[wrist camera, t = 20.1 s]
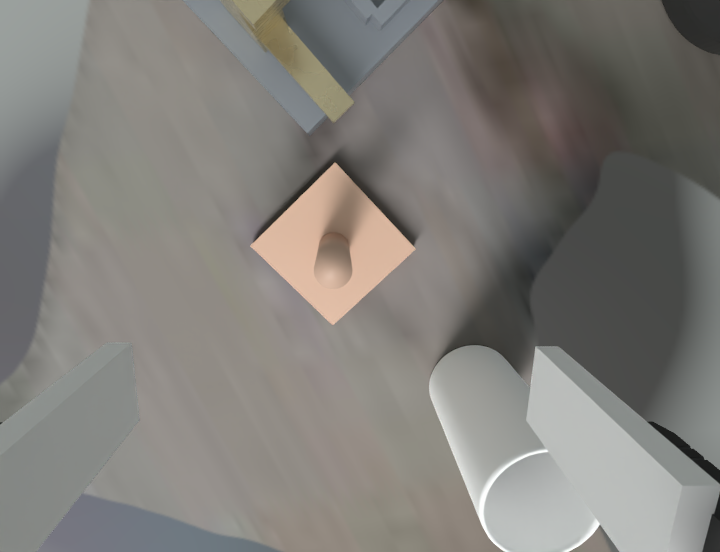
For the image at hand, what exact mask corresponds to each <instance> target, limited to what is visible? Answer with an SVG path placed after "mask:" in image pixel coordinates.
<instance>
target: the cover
mask: <svg viewBox="0 0 720 552" xmlns="http://www.w3.org/2000/svg"><path fill="white" fill-rule="evenodd" d="M251 247H252V248H253V249H254V250H255V251H256V252H257V253H258V254H259V255H260V256H261V257H262V258H263V259H265V260H266V261H267V262H268V263H269V264H270V265H271V266H272V267H273V268H274V269H275V270H276V271H277V272H278V273H279V274H280V275H281V276H282V277H283V278H284V279H285V280H286V281H287V282H288V283H289V284H290V285H291V286H293V287H294V288H295V289H296V290H297V291H298V292H299V293H300V294H301V295H302V296H303V297H304V298H305V299H306V300H307V301H308V302H309V303H310V304H311V305H312V306H313V307H314V308H315V309H316V310H317V311H318V312H319V313H321V314H322V315H323V316H324V317H325V318H326V319H327V320H328V321H329V322H330V323H331V324H332V325H334V324H335V323H336V322H337V321H338V320H339V319H340V318H341V317H342V316H343V315H345V314H346V313H347V312H348V311H349V310H350V309H351V308H352V307H353V306H354V305H355V304H357V303H358V302H359V301H360V300H361V299H362V298H363V297H364V296H365V295H366V294H367V293H369V292H370V291H371V290H372V289H373V288H374V287H375V286H376V285H377V284H378V283H379V282H380V281H382V280H383V279H384V278H385V277H386V276H387V275H388V274H389V273H390V272H391V271H392V270H394V269H395V268H396V267H397V266H398V265H399V264H400V263H401V262H402V261H403V260H404V259H406V258H407V257H408V256H409V255H410V254H411V253H412V252H413V251H414V250H415V248H414V246H413V245H412V244H411V243H410V242H409V241H408V240H407V239H406V238H405V237H404V236H403V235H402V234H401V232H400V231H399V230H398V229H397V228H396V227H395V226H394V225H393V224H392V223H391V222H390V221H389V220H388V218H387V217H386V216H385V215H384V214H383V213H382V212H381V211H380V210H379V209H378V208H377V207H376V206H375V204H374V203H373V202H372V201H371V200H370V199H369V198H368V197H367V196H366V195H365V194H364V193H363V192H362V190H361V189H360V188H359V187H358V186H357V185H356V184H355V183H354V182H353V181H352V180H351V179H350V178H349V177H348V175H347V174H346V173H345V172H344V171H343V170H342V169H341V168H340V167H339V166H338V165H337V164H336V163H334V164H333V165H332V166H331V167H330V168H329V169H328V170H327V171H326V172H325V173H324V174H323V175H322V176H321V177H320V178H319V179H318V180H317V181H316V182H315V183H314V184H313V185H312V186H311V187H310V188H309V189H308V190H306V191H305V192H304V193H303V194H302V195H301V196H300V197H299V198H298V199H297V200H296V201H295V202H294V203H293V204H292V205H291V206H290V207H289V208H288V209H287V210H286V211H285V212H284V213H283V214H282V215H281V216H280V217H279V218H278V219H277V220H276V221H275V222H274V223H273V224H272V225H271V226H270V227H269V228H268V229H267V230H266V231H265V232H264V233H263V234H262V235H261V236H260V237H259V238H258V239H257V240H256V241H255V242H254V243H253V244H252V245H251Z"/></svg>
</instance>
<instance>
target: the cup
mask: <svg viewBox="0 0 720 552" xmlns="http://www.w3.org/2000/svg"><path fill="white" fill-rule="evenodd" d="M429 392H430V397H431V400H432V402H433V405H434V407H435V410H436V412H437V415H438V417H439V420H440V422H441V425H442V427H443V430H444V432H445V435H446V437H447V440H448V442H449V445H450V447H451V449H452V452H453V454H454V457H455V459H456V462H457V464H458V467H459V469H460V472H461V474H462V477H463V479H464V482H465V484H466V487H467V489H468V492H469V494H470V497H471V499H472V502H473V504H474V507H475V509H476V511H477V514H478V516H479V519H480V521H481V524H482V526H483V528H484V530H485V532H486V533H487V535H488V537H489V538H490V539H491V541H492V542H493V543H494V544H495V545H496V546H498V547H499V548H500V549H502V550H503V551H505V552H568V551H571V550H572V549H574V548H576V547H578V546H579V545H581V544H582V543H583V542H585V541H586V540H587V539H588V538H589V537H590V536H591V535H592V534H593V533H594V532H595V531H596V529H597V528H598V527H599V525H600V523H599V522H598V520H597V519H596V518H595V516H594V515H593V513H592V512H591V511H590V509H589V508H588V506H587V505H586V504H585V502H584V501H583V499H582V498H581V497H580V495H579V494H578V492H577V491H576V490H575V488H574V487H573V485H572V484H571V483H570V481H569V480H568V478H567V477H566V476H565V474H564V473H563V471H562V470H561V469H560V467H559V466H558V464H557V463H556V462H555V460H554V459H553V457H552V456H551V455H550V453H549V452H548V450H547V449H546V448H545V446H544V445H543V443H542V442H541V441H540V439H539V438H538V436H537V435H536V434H535V432H534V431H533V429H532V428H531V427H530V425H529V424H528V422H527V421H526V417H527V409H528V401H529V394H530V387H529V386H528V385H527V383H526V382H525V381H524V380H523V379H522V378H521V376H520V375H519V374H518V373H517V372H516V371H515V370H514V368H513V367H512V366H511V365H510V364H509V363H508V361H507V360H506V359H505V358H504V357H503V356H502V355H501V354H500V353H498V352H497V351H495V350H493V349H491V348H489V347H485V346H480V345H469V346H464V347H460V348H457V349H455V350H453V351H451V352H450V353H448V354H447V355H445V356H444V357H443V358H442V359H441V360H440V361H439V362H438V363H437V365H436V366H435V368H434V370H433V372H432V374H431V377H430V382H429Z"/></svg>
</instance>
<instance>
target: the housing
mask: <svg viewBox="0 0 720 552" xmlns="http://www.w3.org/2000/svg"><path fill="white" fill-rule="evenodd" d="M183 1H184V2H185V3H186V4H187V5H188V6H189V8H190V9H191V10H192V11H193V12H194V13H195V14H196V15H197V16H198V17H199V18H200V19H201V20H202V21H203V23H204V24H205V25H206V26H207V27H208V28H209V29H210V30H211V31H212V32H213V33H214V34H215V35H216V36H217V37H218V39H219V40H220V41H221V42H222V43H223V44H224V45H225V46H226V47H227V48H228V49H229V50H230V51H231V52H232V54H233V55H234V56H235V57H236V58H237V59H238V60H239V61H240V62H241V63H242V64H243V65H244V66H245V67H246V68H247V70H248V71H249V72H250V73H251V74H252V75H253V76H254V77H255V78H256V79H257V80H258V81H259V82H260V83H261V85H262V86H263V87H264V88H265V89H266V90H267V91H268V92H269V93H270V94H271V95H272V96H273V97H274V98H275V99H276V101H277V102H278V103H279V104H280V105H281V106H282V107H283V108H284V109H285V110H286V111H287V112H288V113H289V114H290V116H291V117H292V118H293V119H294V120H295V121H296V122H297V123H298V124H299V125H300V126H301V127H302V128H303V129H304V130H305V132H306V133H307V134H308V135H309V136H310V135H311V134H312V133H313V132H314V131H315V130H316V129H317V128H318V127H319V126H320V125H321V124H322V123H323V122H324V121H325V120H326V119H327V118H328V117H327V116H326V114H325V113H324V112H323V111H322V110H321V109H320V108H319V107H318V105H317V104H316V103H315V102H314V101H313V100H312V99H311V98H310V96H309V95H308V94H307V93H306V92H305V91H304V90H303V89H302V87H301V86H300V85H299V84H298V83H297V82H296V81H295V80H294V78H293V77H292V76H291V75H290V74H289V73H288V72H287V71H286V69H285V68H284V67H283V66H282V65H281V64H280V63H279V62H278V60H277V59H276V58H275V57H274V56H273V55H272V54H271V53H270V51H269V50H268V51H267V52H266V53H265V52H264V51H263V49H262V48H261V47H260V46H259V45H258V44H257V43H256V42H255V41H254V39H253V38H252V37H251V36H250V35H249V34H248V33H247V32H246V30H245V29H244V28H243V27H242V26H241V25H240V24H239V23H238V21H237V20H236V19H235V18H234V17H233V16H232V15H231V14H230V12H229V11H228V10H227V9H226V8H225V7H224V5H223V4H222V3H221V1H220V0H183ZM442 1H443V0H290V1H289V2H288V3H287V4H286V5H285V6H284V7H283V8H282V10H283V13H284V16H285V19H286V21H287V24H288V26H289V27H290V28H291V29H292V30H293V32H294V33H295V34H296V35H297V36H298V37H299V39H300V40H301V41H302V42H303V43H304V44H305V45H306V47H307V48H308V49H309V50H310V51H311V52H312V54H313V55H314V56H315V57H316V58H317V59H318V61H319V62H320V63H321V64H322V65H323V66H324V67H325V69H326V70H327V71H328V72H329V73H330V74H331V76H332V77H333V78H334V79H335V80H336V81H337V82H338V84H339V85H340V86H341V87H342V88H343V89H344V91H345V92H346V93H347V94H348V95H350V94H351V93H352V92H353V91H354V90H355V89H356V88H357V87H358V86H359V85H360V84H361V83H362V82H363V81H364V80H365V79H366V78H367V77H368V76H369V75H370V74H371V73H372V72H373V71H374V70H375V69H376V68H377V67H378V66H379V65H380V64H381V63H382V62H383V61H384V60H385V59H386V58H387V57H388V56H389V55H390V54H391V53H392V52H393V51H394V50H395V49H396V48H397V47H398V46H399V45H400V44H401V43H402V42H403V41H404V40H405V39H406V38H407V37H408V36H409V35H410V34H411V33H412V32H413V31H414V30H415V29H416V28H417V27H418V26H419V25H420V24H421V23H422V22H423V21H424V19H425V18H426V17H427V16H428V15H429V14H430V13H431V12H432V11H433V10H434V9H435V8H436V7H437V6H438V5H439V4H440V3H441V2H442Z"/></svg>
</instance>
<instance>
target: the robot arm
mask: <svg viewBox="0 0 720 552" xmlns="http://www.w3.org/2000/svg"><path fill="white" fill-rule="evenodd" d="M662 1H663V5H664V7H665V10H666V12H667V14H668V16H669V18H670V20H671V21H672V23H673V24H674V26H675V27H676V28H677V30H678V31H679V32H680V33H681V34H682V35H683V36H684V37H685V38H686V39H687V40H688V41H690V42H691V43H692V44H694V45H695V46H697V47H699V48H701V49H703V50H705V51H707V52H710V53H714V54H718V55H720V0H662ZM139 420H140V418H139V408H138V399H137V389H136V380H135V370H134V361H133V351H132V343H106V344H104V345H103V346H102V347H101V348H99V349H98V350H97V351H95V352H94V353H93V354H91V355H90V356H89V357H88V358H86V359H85V360H84V361H82V362H81V363H80V364H78V365H77V366H76V367H75V368H73V369H72V370H71V371H69V372H68V373H67V374H65V375H64V376H63V377H62V378H60V379H59V380H58V381H56V382H55V383H54V384H52V385H51V386H50V387H49V388H47V389H46V390H45V391H43V392H42V393H41V394H39V395H38V396H37V397H36V398H34V399H33V400H32V401H30V402H29V403H28V404H26V405H25V406H24V407H23V408H21V409H20V410H19V411H17V412H16V413H15V414H13V415H12V416H11V417H10V418H8V419H7V420H6V421H4V422H0V552H37V550H38V549H39V548H40V546H41V545H42V544H43V542H44V541H45V540H46V539H47V537H48V536H49V535H50V533H51V532H52V531H53V530H54V529H55V527H56V526H57V525H58V523H59V522H60V521H61V520H62V518H63V517H64V516H65V514H66V513H67V512H68V511H69V509H70V508H71V507H72V506H73V504H74V503H75V502H76V500H77V499H78V498H79V497H80V495H81V494H82V493H83V492H84V490H85V489H86V488H87V486H88V485H89V484H90V483H91V481H92V480H93V479H94V478H95V476H96V475H97V474H98V472H99V471H100V470H101V469H102V467H103V466H104V465H105V463H106V462H107V461H108V460H109V458H110V457H111V456H112V455H113V453H114V452H115V451H116V449H117V448H118V447H119V446H120V444H121V443H122V442H123V441H124V439H125V438H126V437H127V435H128V434H129V433H130V432H131V430H132V429H133V428H134V426H135V425H136V424H137V423H138V421H139ZM526 421H527V422H528V424H529V425H530V427H531V428H532V429H533V431H534V432H535V434H536V435H537V436H538V438H539V439H540V441H541V442H542V443H543V445H544V446H545V448H546V449H547V450H548V452H549V453H550V455H551V456H552V457H553V459H554V460H555V462H556V463H557V464H558V466H559V467H560V469H561V470H562V471H563V473H564V474H565V476H566V477H567V478H568V480H569V481H570V483H571V484H572V485H573V487H574V488H575V490H576V491H577V492H578V494H579V495H580V497H581V498H582V499H583V501H584V502H585V504H586V505H587V506H588V508H589V509H590V511H591V512H592V513H593V515H594V516H595V518H596V519H597V520H598V522H599V523H600V525H601V526H602V527H603V529H604V530H605V532H606V533H607V534H608V536H609V537H610V539H611V540H612V541H613V543H614V544H615V546H616V547H617V548H618V550H619V551H620V552H720V470H719V469H717V468H716V467H715V466H714V465H713V464H711V463H710V462H709V461H708V460H704V457H703V456H701V455H700V454H699V453H698V452H697V451H695V450H694V449H691V448H690V446H689V445H688V444H687V443H686V442H684V441H683V440H682V439H681V438H680V437H678V436H677V435H676V434H675V433H673V432H671V431H669V430H667V429H666V428H664V427H662V426H660V425H658V424H656V423H654V422H646V421H645V420H644V419H643V418H642V417H640V416H639V415H638V414H637V413H636V412H635V411H633V410H632V409H631V408H630V407H629V406H628V405H626V404H625V403H624V402H623V401H622V400H621V399H619V398H618V397H617V396H616V395H615V394H614V393H612V392H611V391H610V390H609V389H608V388H606V387H605V386H604V385H603V384H602V383H601V382H599V381H598V380H597V379H596V378H595V377H594V376H592V375H591V374H590V373H589V372H588V371H587V370H585V369H584V368H583V367H582V366H581V365H579V364H578V363H577V362H576V361H575V360H573V359H572V358H571V357H570V356H569V355H568V354H567V353H565V352H564V351H563V350H562V349H561V348H560V347H558V346H554V347H553V346H551V347H549V346H536V348H535V355H534V363H533V371H532V378H531V386H530V394H529V401H528V409H527V417H526Z"/></svg>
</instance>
